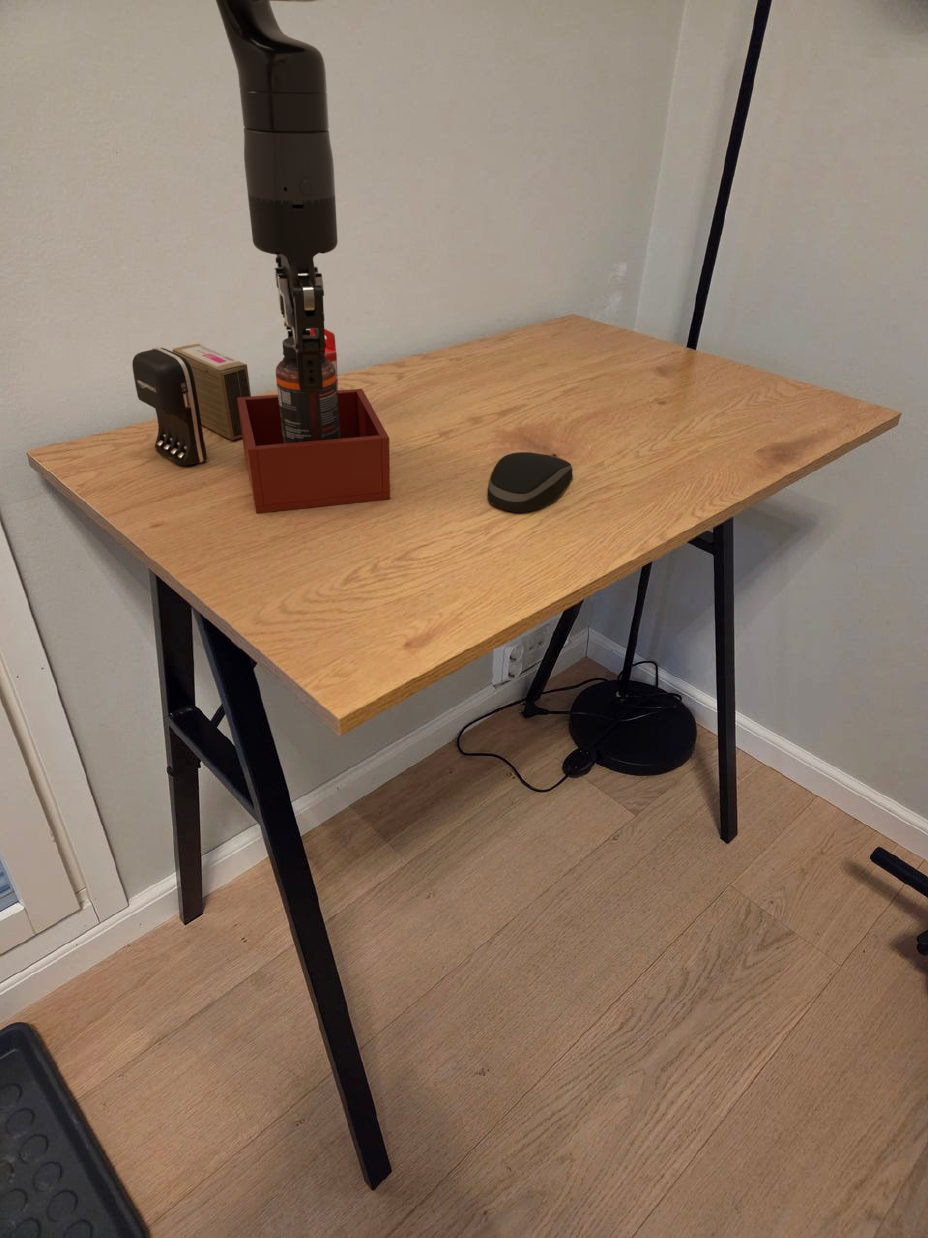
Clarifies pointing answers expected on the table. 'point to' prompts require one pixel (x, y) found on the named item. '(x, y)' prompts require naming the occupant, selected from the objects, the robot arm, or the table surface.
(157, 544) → the table surface
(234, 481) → the table surface
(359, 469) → the tote
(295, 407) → the supplement bottle
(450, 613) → the table surface
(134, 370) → the battery charger
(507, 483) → the computer mouse
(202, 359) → the ink box
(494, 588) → the table surface
